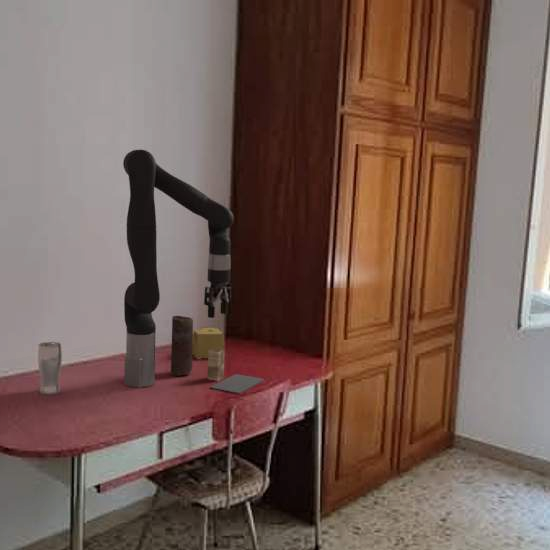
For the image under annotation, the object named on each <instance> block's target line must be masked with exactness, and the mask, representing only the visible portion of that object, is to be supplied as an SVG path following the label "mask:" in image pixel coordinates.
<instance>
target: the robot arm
mask: <svg viewBox="0 0 550 550" xmlns="http://www.w3.org/2000/svg"><path fill="white" fill-rule="evenodd" d="M122 165H123V170H124V171H125V173H126V175H128V182H129V191H130V192H129V196H130V197H129V202H128V203H129V204H128V208H127V215H126V217H127V218H126V243H127V247H128V248H127V249H128V251H129V252H128V253H129V255H130V258H131V262H132V265H133V269H134V270H133V271H134V282H132V283H131V284H129V285H128V286H127V288H126V289H125V293H124V296H123V297H124V301H123V302H124V303H123V304H124V305H123V306H124V307H123V308H124V309H123V310H124V322H125V326H126V339H125V340H126V347H125V350H126V351H125V352H126V353H125V354H126V355H125V356H124V366H123V367H124V371H123V372H124V377H123V378H124V379H123V382H124V383H123V385H124V386H129V387H132V388H138V389H141V388H147V387H151V386H153V385H155V380H156V379H155V375H156V373H155V372H156V367H155V366H156V323H155V321H154V319H153V315H152V313H153V312H154V311H155V310H156V309H157V307H159V303H160V301H161V300H160V298H161V297H160V287H159V280H158V270H157V269H158V268H157V265H158V264H157V257H158V256H157V255H158V254H157V218H156V217H157V214H156V205H155V204H156V203H155V189H157V190H159V191H160V192H162V193H164V194H165V195H167V196H168V197H169V198H171V199H172V200H174V201H175V202H176V203H178V204H179V205H180V206H182V207H183V208H185V209H187V210H188V211H190V212H192V213H193V214H195V215H197V216H199V217H201V218H203V219H205V220H206V221H207V229H208V237H209V245H208V246H209V247H208V253H209V254H208V259H207V282H209V283H210V286H205V288H204V299H203V305H204V306H207V317H208V318H212V319H213V318H215V315H216V313H215V312H216V307H215V306H216V304H217V302H218V301H219V299H220V314H222V315H226V314H227V313H228V303H229V302H230V301H232V291H233V289H232V287H233V286H232V285H233V284H232V282H230V281H231V267H232V265H231V264H232V261H231V244H232V243H231V239H230V237H229V230H228V229H229V228H231V227H232V225H233V224H234V221H235V218H234V214H233V212H232V211H231V210H230V209H229V208H227V207H226V206H224V205H223V204H221V203H218V202H217V201H215V200H213V199H212V198H211V197H209V196H207V195H206V194H205V193H203V192H202V191H200V190H199V189H197V188H196V187H194V186H192V185H191V184H189V183H187V182H186V181H183V180H182V179H180V178H179V177H175V176H174V175H172V174H171V173H169V172H167V170H165V169H164V168H162V167H161V166H160V165H159V164H157V161H156V159H155V157H154V155H153V154H152V153H151V152H150V151H148V150H145V149H133V150H131V151H129V152H127V153H126V155H125V156H124V158H123V162H122Z"/></svg>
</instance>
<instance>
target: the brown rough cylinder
mask: <svg viewBox="0 0 550 550" xmlns="http://www.w3.org/2000/svg"><path fill="white" fill-rule="evenodd" d="M193 333H194V319H193V318H192V317H189V316H182V315H173V316H172V322H171V351H170V353H171V354H170V358H171V359H170V374H171V376H175V377H177V376H186V375H189V374H191V373H192V372H193V354H192V351H193Z"/></svg>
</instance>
